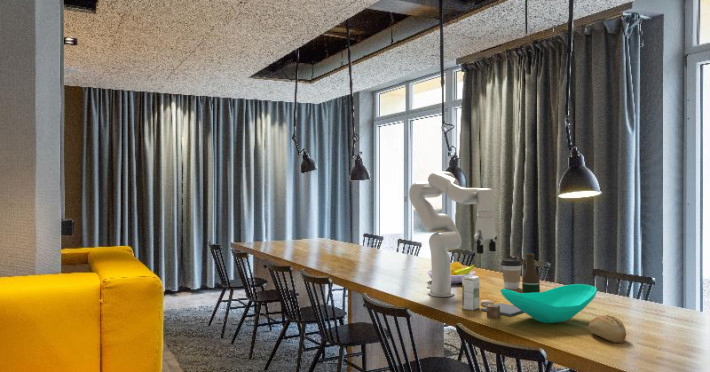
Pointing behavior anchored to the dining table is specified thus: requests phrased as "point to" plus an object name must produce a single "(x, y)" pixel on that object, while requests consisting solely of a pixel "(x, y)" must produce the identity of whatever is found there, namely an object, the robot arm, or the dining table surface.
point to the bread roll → (608, 328)
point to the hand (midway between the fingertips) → (486, 252)
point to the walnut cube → (493, 311)
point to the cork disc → (486, 302)
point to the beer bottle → (530, 276)
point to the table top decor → (553, 302)
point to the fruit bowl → (457, 272)
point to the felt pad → (506, 309)
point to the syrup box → (470, 292)
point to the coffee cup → (511, 273)
